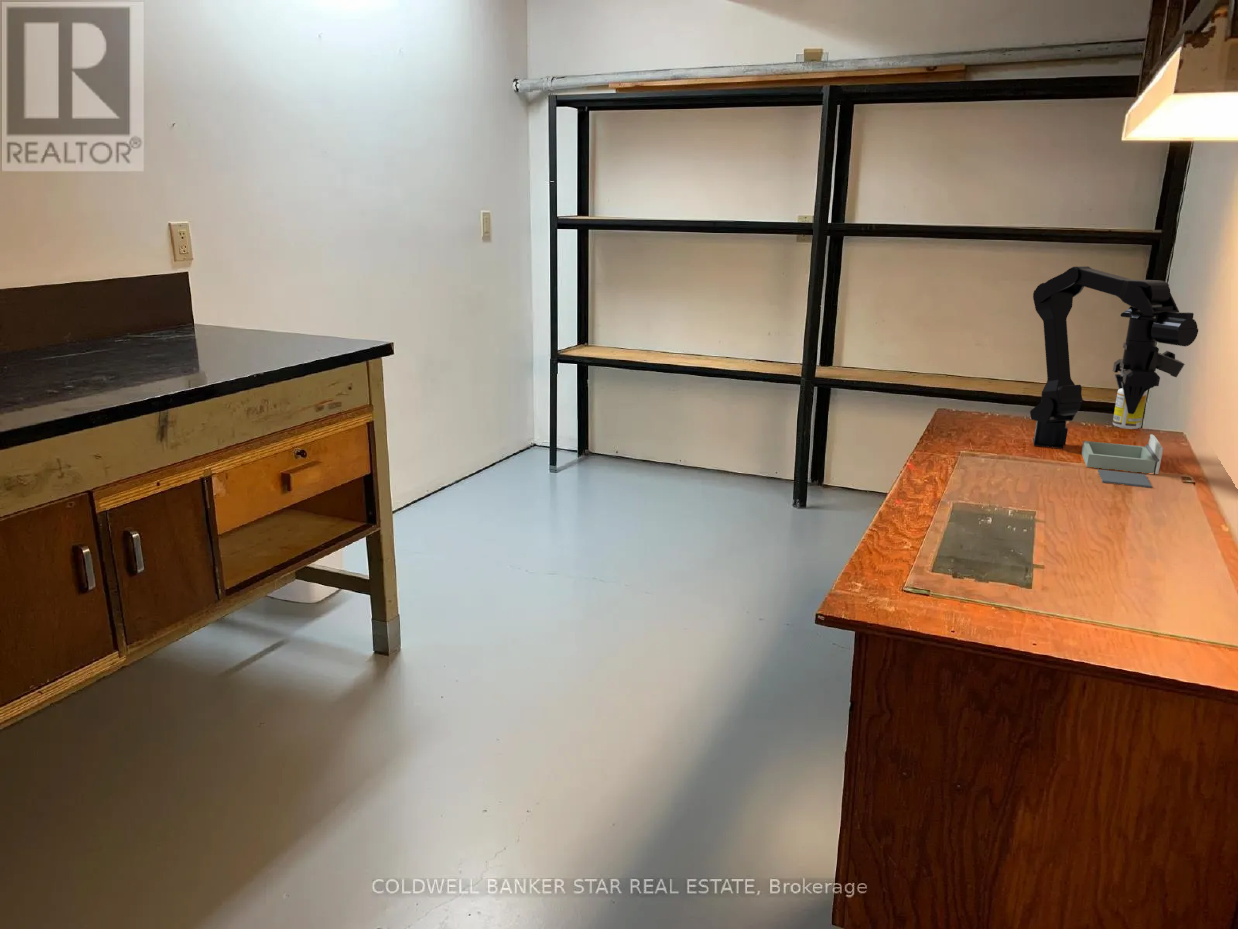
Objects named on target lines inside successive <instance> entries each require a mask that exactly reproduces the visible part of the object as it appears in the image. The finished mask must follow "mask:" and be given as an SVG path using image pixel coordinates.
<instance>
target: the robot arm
mask: <svg viewBox="0 0 1238 929" xmlns="http://www.w3.org/2000/svg"><path fill="white" fill-rule="evenodd" d="M1084 288H1088V289H1092V290H1095V291H1097V292H1101V293H1105V294H1108V295H1113V296H1115V297H1117V298H1119V299H1120V300H1121V302H1122V303H1124V304H1126V305H1127V306H1129V307H1128V308H1127V309H1126V310H1125V311H1123V312H1121V313H1120V317H1122V318H1128V319H1129V320H1128V326H1127V332H1126V337H1125V342H1123V344H1122V345H1123V346H1122V348H1123V349H1124V350H1123V353H1122V354H1123V355H1122V358H1119V359H1117V360H1116V361H1114V362H1113V366H1112V372H1114V373H1116V374H1114V378H1115V379H1116V380H1115V381H1116V384H1117V387H1118V390H1119V389H1121V388H1122V389H1123V393H1124V397H1125V402H1126V406H1127V410H1128V413H1129V414H1134V413H1135V411H1136V409H1137V406H1138V404H1139V402H1140V400H1141V398H1142V396H1143V394H1144V392H1145V391H1146V392H1147V391H1148V390H1150V389H1154V387H1159V385H1160V380H1161V377H1160V375H1158V372H1156V371H1157V370H1159V371H1161V372H1164V373H1167V374H1168V375H1169V376H1171V377H1174V378H1177V377H1178V376H1179V374H1180V372H1181V371H1182V369H1183V368H1184V366H1185V365H1186V364H1185V363H1184V362H1182V361H1181V360H1179V359H1176V354H1175V353H1174V352H1171V351H1169V350H1166V351H1164V352H1163V353H1160V352H1159V351H1160V348H1159V347H1158V346H1157V343H1159V344H1164V345H1165V344H1166V345H1173V346H1180V347H1188V346H1190V345H1192V344H1193V343H1194V342H1195V340H1196V339H1197V338H1198V334H1199V328H1198V323H1197V322H1196V320H1195V319H1194V312H1187V311H1186V312H1180V310H1179V308H1178V306H1177V304H1176V301H1175V299H1174V298H1173V295H1172V294H1171V287H1170V285H1169V283H1168V282H1166V281H1165V280H1153V279H1135V278H1134V279H1132V278H1129V277H1124V276H1121V275H1116V274H1114V273H1109V272H1106V271H1103V270H1102V271H1101V270H1098V269H1094V268H1092V267H1090V266H1085V265H1084V266H1083V265H1082V266H1077V265H1076V266H1072V267H1070V268H1068V269H1067V270H1066V271H1064V272H1063V273H1060V274H1058V275H1056V276H1054V277H1052V278H1049V279H1048V280H1047V281H1046V282H1042V283H1040V284H1038V285H1037V286H1036V288H1035V290H1033V294H1032V298H1033V305H1034V309H1035V311H1036V313H1037V315H1038V316H1039V317H1040V318H1041V320H1042V322H1043V335H1044V347H1045V348H1044V349H1045V350H1044V351H1045V361H1046V363H1045V364H1046V374H1047V376H1046V377H1047V381H1046V383H1045V385H1044V387H1043V389H1042V390H1041V400H1040V402H1039V403H1038V404H1037V405H1036V406H1034V407H1033V408H1032V409H1030V411H1029V413H1030V419H1031V420H1032V421H1036V423H1035V430H1034V436H1033V438H1032V443H1033V446H1034V447H1043V448H1044V447H1045V448H1054V449H1064V446H1065V445H1066V441H1067V437H1068V426H1067V422H1073V420H1074V419H1075V416H1076V414H1077V413H1078V412H1079V411H1080V409H1081V407H1082V402H1084V399H1083V397H1082V396H1083V395H1082V390H1083V389H1082V385H1081V384H1075V382H1074V381H1073V380H1072V376H1071V364H1070V352H1069V350H1070V349H1069V339H1068V338H1069V336H1068V324H1067V318H1068V315H1069V314H1070V312H1071V310H1072V308H1073V301H1074V297H1076V296H1078V295H1079V294H1080V293H1081V292H1082V291H1083V290H1084ZM1156 369H1157V370H1156Z"/></svg>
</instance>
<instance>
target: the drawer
mask: <svg viewBox="0 0 1238 929" xmlns="http://www.w3.org/2000/svg"><path fill="white" fill-rule="evenodd" d="M1163 453H1164V447H1163V446H1162V444H1161V443H1160V441H1159V440H1158V439H1157V437H1156V436H1155V435H1154V434H1153V433H1152V434H1149V440H1148V443H1147V444H1145V445H1143V446H1142V445H1132V444H1120V443H1111V442H1101V441H1100V442H1099V441H1089V440H1083V441H1082V448H1081V456H1082V458H1083V461H1084V463H1085V464H1084V465H1085V467H1086V466H1087V467H1086V468H1090V467H1094V468H1093V469H1099V468H1102V469H1101V470H1109V469H1115V470H1114V471H1118V470H1125V471H1124V472H1128V471H1131V472H1130V473H1137V472H1143V473H1142V474H1147V473H1153V474H1154V472H1155V474H1154V475H1156V474H1158V475H1159V473H1160V467H1161V462H1162V456H1163Z"/></svg>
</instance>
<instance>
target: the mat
mask: <svg viewBox="0 0 1238 929" xmlns="http://www.w3.org/2000/svg"><path fill="white" fill-rule="evenodd" d="M1097 472H1099V473H1098V475H1099V478H1100V477H1101V478H1100V480H1101V479H1102V480H1101V483H1103V484H1111V483H1115V484H1114V485H1120V484H1124V485H1123V486H1131V487H1139V486H1141V488H1147V489H1148V488H1149V489H1152V487H1153V486H1152V484H1151V482H1150V480H1149V478H1148V477H1147V476H1146V475H1147V474H1146V473H1137V472H1128V471H1118V470H1109V469H1097Z"/></svg>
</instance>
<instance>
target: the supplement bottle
mask: <svg viewBox="0 0 1238 929" xmlns="http://www.w3.org/2000/svg"><path fill="white" fill-rule="evenodd" d="M1147 395H1148V394H1147V391H1145V392H1144V394H1143V396H1142V398H1141V400H1140V402H1139V404H1138V406H1137V409H1136V411H1135V413H1134V414H1129V413H1128V410H1127V406H1126V402H1125V397H1124V393H1123V389H1122V388H1121V389H1119V388H1118V390H1117V394H1116V398H1115V404H1114V412H1113V416H1112V417H1113V418H1112V425H1113V426H1115V427H1117V428H1121V429H1127V430H1129V429H1130V430H1131V429H1132V430H1135V429H1139V428H1141V426H1142V424H1143V417H1144V411H1145V405H1146V400H1147Z"/></svg>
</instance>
